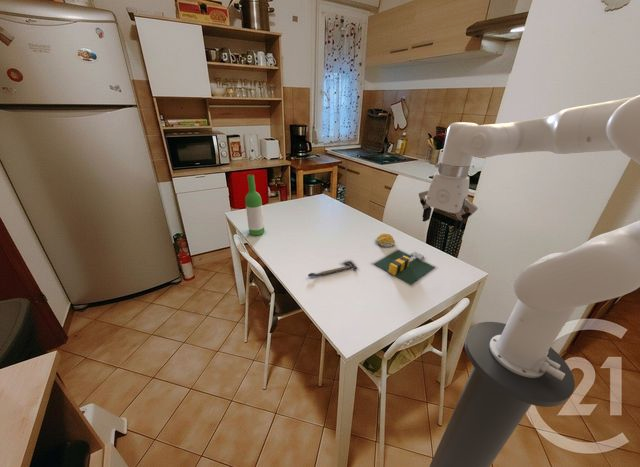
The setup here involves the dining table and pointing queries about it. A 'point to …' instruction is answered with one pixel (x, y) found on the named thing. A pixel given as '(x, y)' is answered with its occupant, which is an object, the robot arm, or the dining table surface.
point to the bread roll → (385, 240)
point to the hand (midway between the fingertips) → (440, 225)
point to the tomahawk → (334, 270)
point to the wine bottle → (254, 209)
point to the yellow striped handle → (403, 263)
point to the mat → (409, 273)
